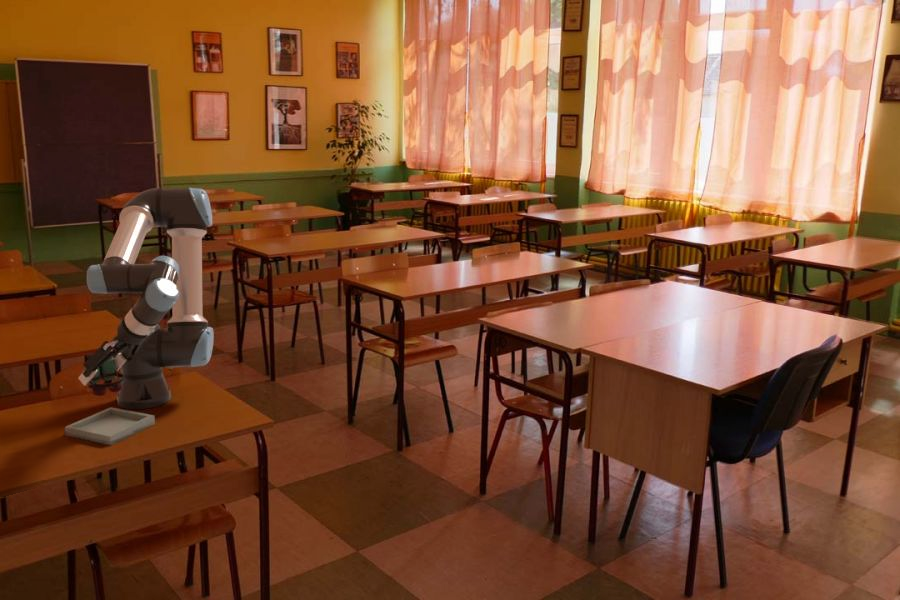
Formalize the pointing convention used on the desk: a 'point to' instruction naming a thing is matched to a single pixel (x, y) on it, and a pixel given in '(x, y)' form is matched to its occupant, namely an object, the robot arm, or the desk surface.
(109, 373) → the binoculars
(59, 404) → the desk surface
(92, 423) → the tray
